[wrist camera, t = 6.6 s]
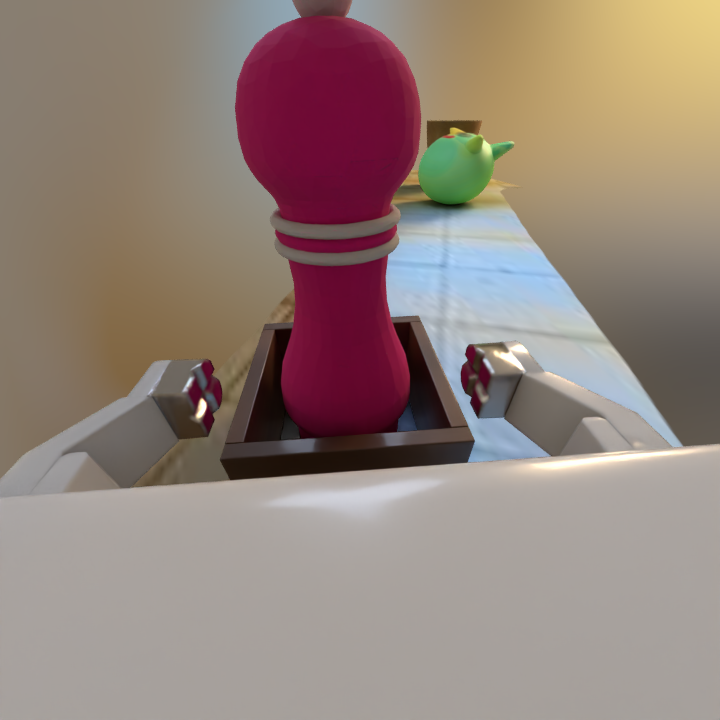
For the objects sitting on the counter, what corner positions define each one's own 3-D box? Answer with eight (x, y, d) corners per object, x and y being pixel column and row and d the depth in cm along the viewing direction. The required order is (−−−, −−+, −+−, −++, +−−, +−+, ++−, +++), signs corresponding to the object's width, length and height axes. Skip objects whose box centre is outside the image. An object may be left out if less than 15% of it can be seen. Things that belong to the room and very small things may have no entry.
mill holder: (453, 505, 16) (475, 440, 13) (251, 521, 16) (218, 460, 12) (411, 374, 24) (418, 315, 21) (279, 383, 24) (264, 323, 21)
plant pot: (428, 190, 88) (436, 120, 78) (415, 182, 99) (421, 120, 90) (478, 188, 89) (492, 119, 79) (460, 181, 100) (470, 119, 91)
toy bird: (442, 194, 84) (451, 126, 75) (502, 201, 74) (521, 126, 65) (402, 205, 74) (407, 128, 64) (466, 215, 64) (482, 128, 55)
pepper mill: (343, 510, 16) (258, -282, 4) (273, 430, 20) (122, -62, 8) (427, 433, 20) (523, -81, 7) (353, 380, 24) (336, -6, 12)
